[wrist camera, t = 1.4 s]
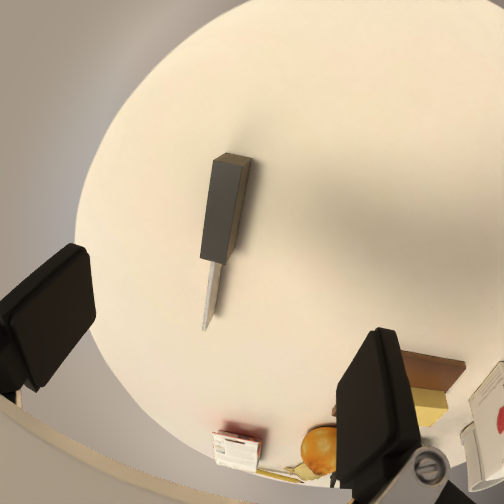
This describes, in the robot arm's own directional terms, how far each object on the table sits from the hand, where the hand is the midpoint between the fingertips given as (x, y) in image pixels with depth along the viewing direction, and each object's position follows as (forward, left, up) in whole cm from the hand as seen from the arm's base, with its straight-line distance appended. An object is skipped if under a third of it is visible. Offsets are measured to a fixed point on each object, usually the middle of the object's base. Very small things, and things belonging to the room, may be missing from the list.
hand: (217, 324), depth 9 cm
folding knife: (+50, +24, -20) cm, 59 cm away
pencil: (+57, +13, -18) cm, 61 cm away
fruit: (+37, +17, -20) cm, 45 cm away
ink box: (+53, +5, -18) cm, 57 cm away
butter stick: (+23, +25, -18) cm, 38 cm away
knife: (+8, -4, -20) cm, 22 cm away
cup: (+30, +45, -20) cm, 58 cm away
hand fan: (+53, +18, -17) cm, 59 cm away
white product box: (+19, +40, -20) cm, 48 cm away
